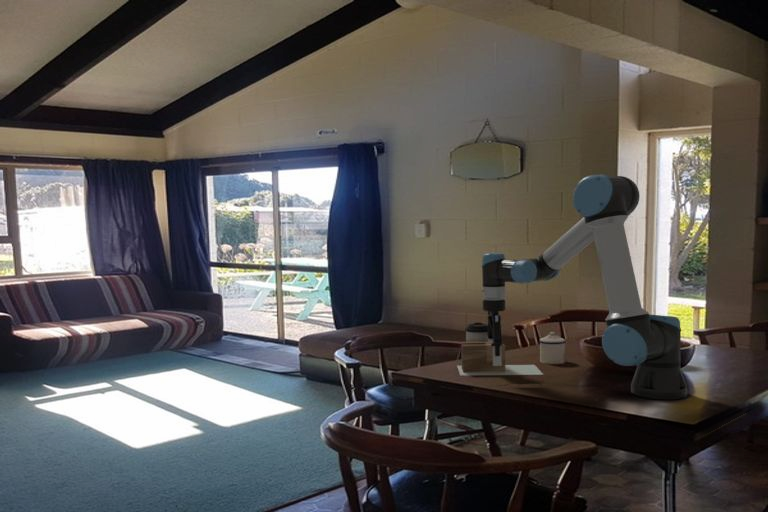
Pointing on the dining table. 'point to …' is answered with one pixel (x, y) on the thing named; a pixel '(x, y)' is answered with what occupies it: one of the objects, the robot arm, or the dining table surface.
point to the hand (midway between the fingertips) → (494, 361)
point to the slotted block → (480, 357)
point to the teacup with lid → (552, 349)
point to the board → (508, 371)
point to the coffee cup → (476, 332)
